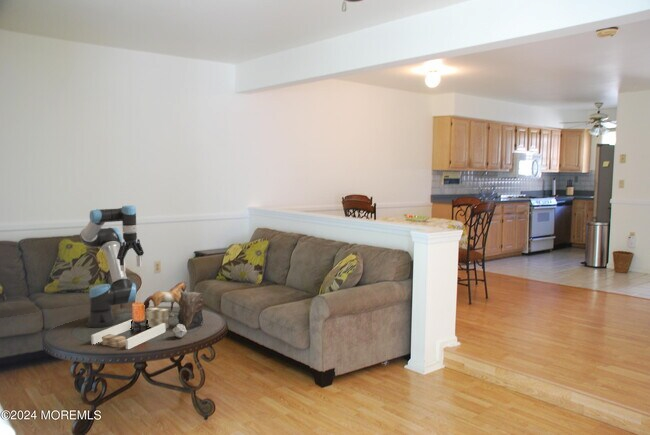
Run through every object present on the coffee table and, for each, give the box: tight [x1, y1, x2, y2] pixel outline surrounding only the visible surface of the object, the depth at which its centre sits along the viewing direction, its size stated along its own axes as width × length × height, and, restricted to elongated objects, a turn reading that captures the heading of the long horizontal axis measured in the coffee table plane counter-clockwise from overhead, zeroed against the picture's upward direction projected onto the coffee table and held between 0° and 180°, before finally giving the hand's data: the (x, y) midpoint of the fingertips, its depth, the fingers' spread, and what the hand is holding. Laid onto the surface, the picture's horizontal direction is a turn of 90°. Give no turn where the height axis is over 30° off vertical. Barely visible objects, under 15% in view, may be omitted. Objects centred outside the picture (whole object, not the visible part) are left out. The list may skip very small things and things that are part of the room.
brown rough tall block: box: [177, 291, 204, 331], centre depth 318 cm, size 13×13×20 cm
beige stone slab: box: [145, 306, 170, 329], centre depth 316 cm, size 13×4×11 cm, turn 70°
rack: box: [90, 319, 166, 350], centre depth 297 cm, size 24×31×5 cm
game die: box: [170, 321, 189, 340], centre depth 296 cm, size 9×8×10 cm
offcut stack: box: [100, 334, 126, 349], centre depth 286 cm, size 13×6×4 cm, turn 64°
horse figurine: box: [143, 281, 187, 317], centre depth 334 cm, size 31×8×21 cm, turn 128°
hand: (131, 268), depth 314 cm, fingers open, 13 cm apart
